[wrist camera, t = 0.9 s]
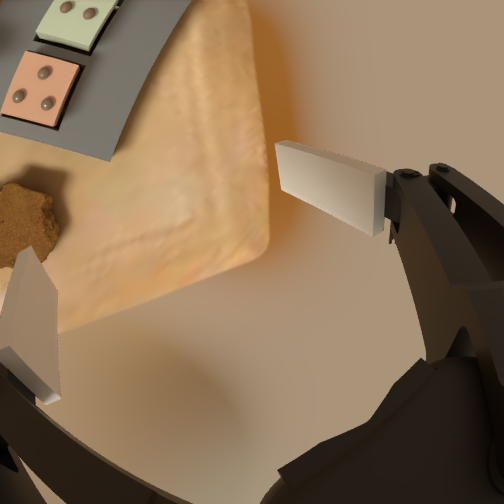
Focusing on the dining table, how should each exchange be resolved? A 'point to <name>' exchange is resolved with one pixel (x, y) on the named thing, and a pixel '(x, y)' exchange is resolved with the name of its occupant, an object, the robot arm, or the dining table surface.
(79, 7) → the tile two
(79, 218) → the dining table surface
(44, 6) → the button board
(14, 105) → the tile three
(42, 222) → the artifact
